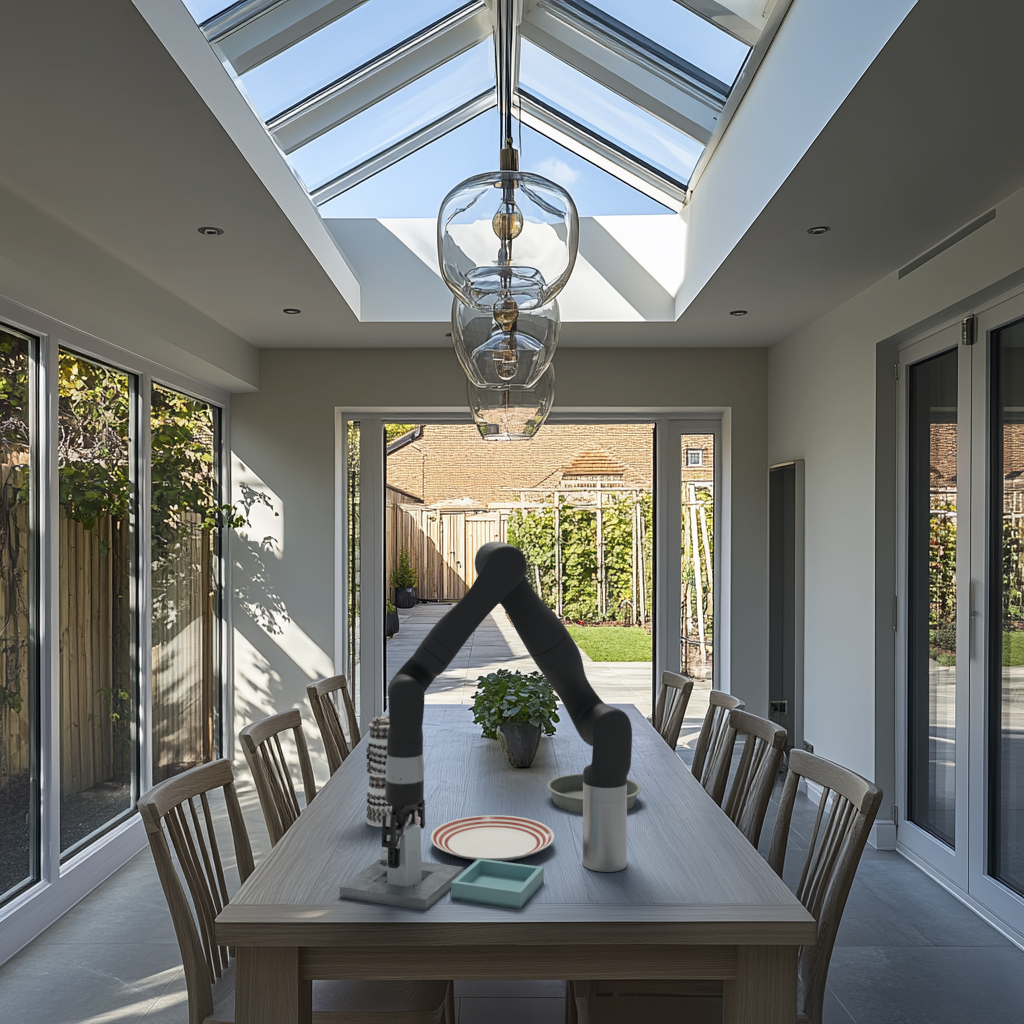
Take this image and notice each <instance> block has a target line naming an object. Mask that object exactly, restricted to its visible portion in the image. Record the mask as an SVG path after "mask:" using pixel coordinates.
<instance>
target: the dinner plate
mask: <svg viewBox="0 0 1024 1024" xmlns="http://www.w3.org/2000/svg"><path fill="white" fill-rule="evenodd" d="M554 841H555V833H554V831H553V830H552V829H551V828H550V827H549V826H547V825H546V824H544V823H542V822H540V821H537V820H534V819H530V818H527V817H521V816H515V815H514V816H513V815H501V814H500V815H499V814H497V815H495V814H494V815H493V814H491V815H489V814H487V815H475V816H466V817H462V818H457V819H453V820H450V821H447V822H445V823H443V824H440V825H438V827H436V828H435V829H434V830H433V831H432V833H431V834H430V842H431V843H432V844H433V846H434V847H436V848H437V849H439V850H441V852H444V853H447V854H450V855H453V856H456V857H459V858H461V859H462V858H463V859H467V860H469V859H471V860H470V861H475V860H477V859H486V860H493V861H501V862H508V860H510V861H515V860H519V859H523V858H526V857H530V856H532V855H536V854H537V853H539V852H542V851H543V850H545V849H546V848H548V847H549V846H551V845H552V843H554ZM514 859H515V860H514Z"/></svg>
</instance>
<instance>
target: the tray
mask: <svg viewBox="0 0 1024 1024" xmlns="http://www.w3.org/2000/svg"><path fill="white" fill-rule="evenodd" d="M544 870H545V868H544V867H543V866H538V865H537V866H536V865H530V864H522V863H513V862H508V861H501V862H500V861H493V860H486V859H477V860H476V861H475V860H474V862H472V864H470V865H469V867H468V866H467V868H466V869H464V872H462V873H461V874H460V875H459V876H458V877H457V878H456V879H454V880H453V881H452V882H451V889H450V899H453V900H459V901H465V902H471V903H480V904H485V905H492V906H499V907H505V908H512V909H518V910H519V909H520V910H521V909H522V908H523V907H524V906H525V904H526V903H527V902H528V901H529V900H530V899H531V897H532V896H533V895H534V894H535V893H536V892H537V891H538V889H540V888H541V886H543V884H544V880H545V879H544V878H545V877H544V876H545V875H544V874H545V873H544Z"/></svg>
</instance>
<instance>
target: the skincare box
mask: <svg viewBox="0 0 1024 1024" xmlns="http://www.w3.org/2000/svg"><path fill="white" fill-rule="evenodd" d="M401 830H402V829H400V830H396V831H401ZM421 834H422V828H421V826H418V825H415V824H411V825H409V826H408V828H407V829H406V830H405V837H404V838H402V841H401V844H400V847H399V848H400V866H399V867H398V868H389V867H388V848H386V850H387V881H386V882H387V883H386V884H392V885H399V886H406V887H413V888H415V887H416V886H417V885H418V884H420V883H421V882H422V881H423V880H422V873H421V861H422V835H421ZM387 839H388V835H387ZM396 840H397V837H396Z"/></svg>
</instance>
